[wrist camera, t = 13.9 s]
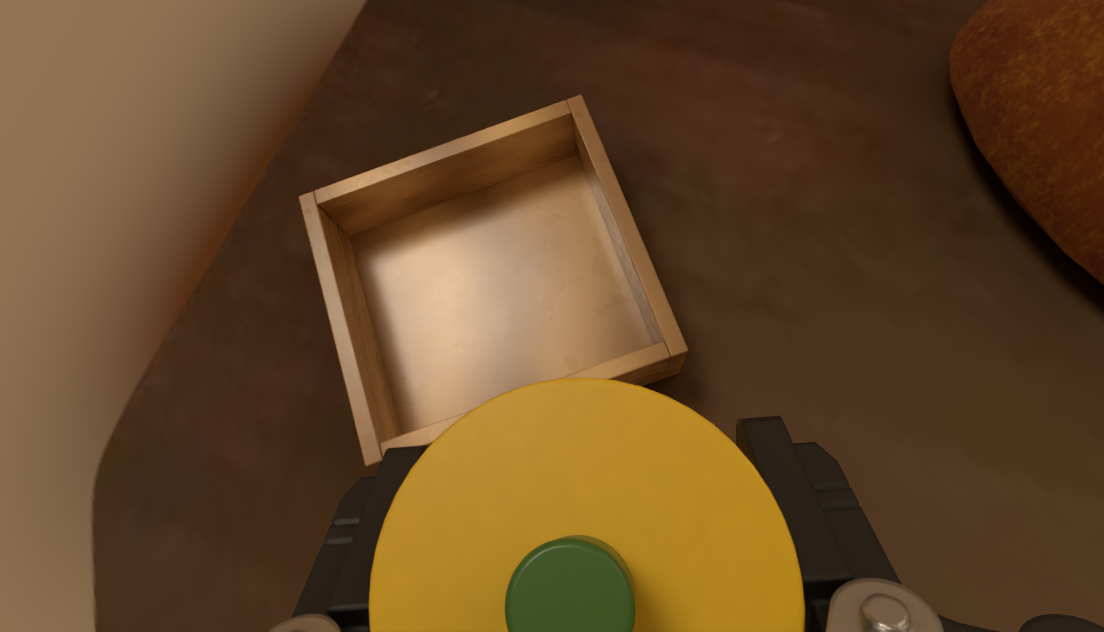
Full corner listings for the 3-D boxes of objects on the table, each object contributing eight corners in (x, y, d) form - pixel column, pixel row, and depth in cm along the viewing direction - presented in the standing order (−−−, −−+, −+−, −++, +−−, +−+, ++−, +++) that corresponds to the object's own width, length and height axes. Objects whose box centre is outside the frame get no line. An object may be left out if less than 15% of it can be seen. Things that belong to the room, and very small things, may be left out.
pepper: (528, 721, 15) (385, 1021, 6) (460, 482, 17) (266, 444, 8) (759, 638, 15) (953, 816, 6) (667, 407, 17) (713, 282, 8)
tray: (400, 473, 33) (364, 467, 29) (338, 235, 37) (297, 196, 33) (680, 373, 33) (688, 350, 29) (586, 145, 37) (581, 93, 33)
